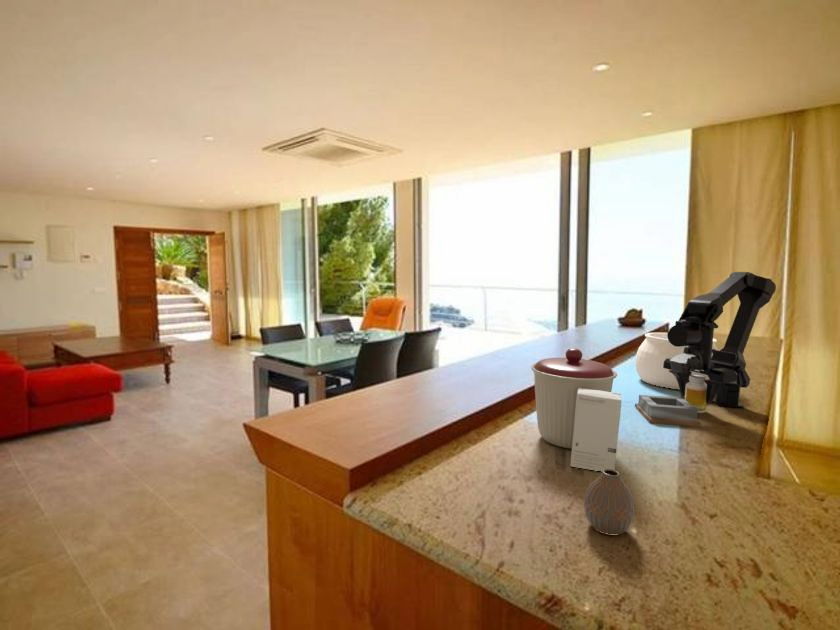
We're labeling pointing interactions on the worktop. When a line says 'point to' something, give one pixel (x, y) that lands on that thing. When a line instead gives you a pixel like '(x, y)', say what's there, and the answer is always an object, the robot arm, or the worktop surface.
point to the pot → (659, 360)
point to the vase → (609, 503)
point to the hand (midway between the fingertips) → (695, 399)
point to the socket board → (667, 410)
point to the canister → (565, 392)
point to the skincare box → (595, 429)
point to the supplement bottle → (696, 392)
